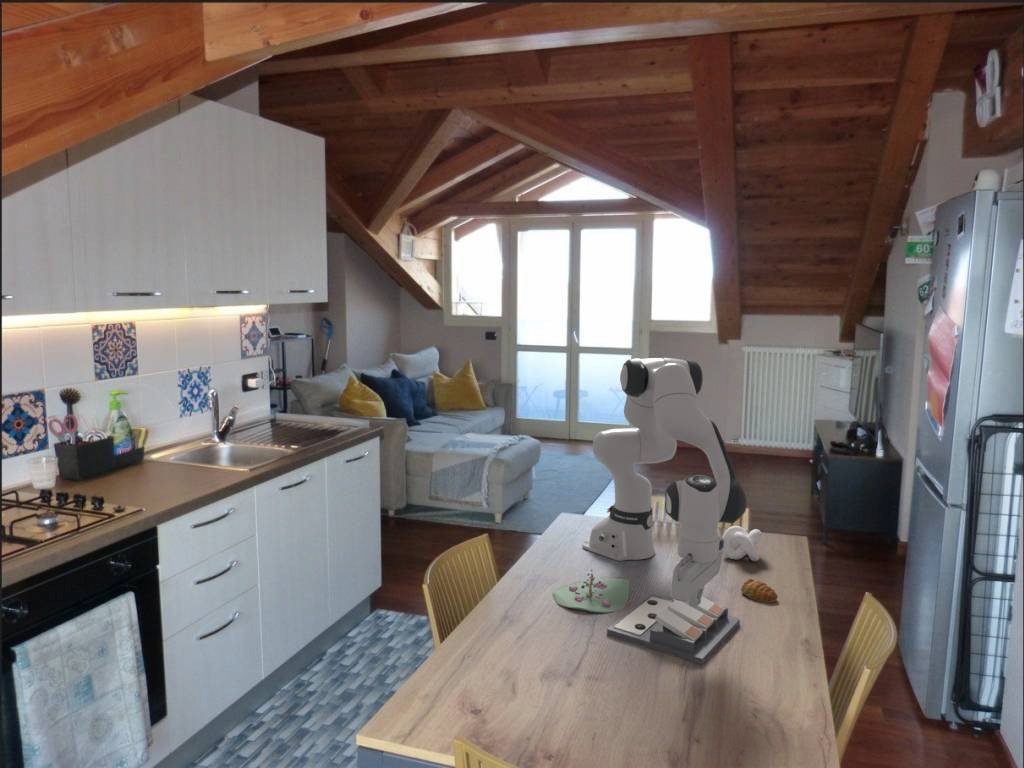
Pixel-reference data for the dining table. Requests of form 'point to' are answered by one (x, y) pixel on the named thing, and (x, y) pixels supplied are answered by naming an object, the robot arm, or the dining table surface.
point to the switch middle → (690, 614)
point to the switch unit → (655, 636)
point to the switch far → (709, 608)
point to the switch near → (678, 625)
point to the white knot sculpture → (741, 543)
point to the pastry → (758, 591)
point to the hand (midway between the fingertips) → (694, 604)
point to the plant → (594, 595)
